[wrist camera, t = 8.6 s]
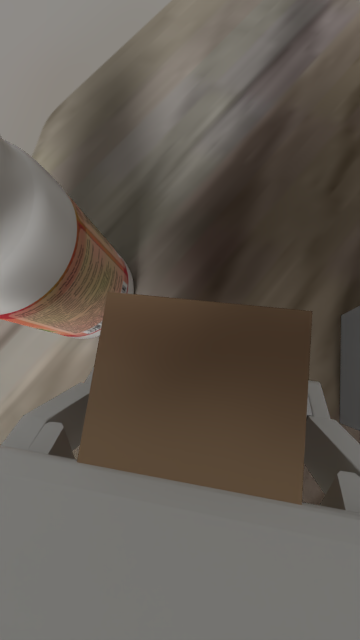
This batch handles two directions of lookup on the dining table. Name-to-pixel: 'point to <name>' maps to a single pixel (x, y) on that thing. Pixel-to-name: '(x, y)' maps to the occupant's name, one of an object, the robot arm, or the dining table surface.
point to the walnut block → (201, 394)
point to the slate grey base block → (350, 369)
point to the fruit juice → (51, 253)
